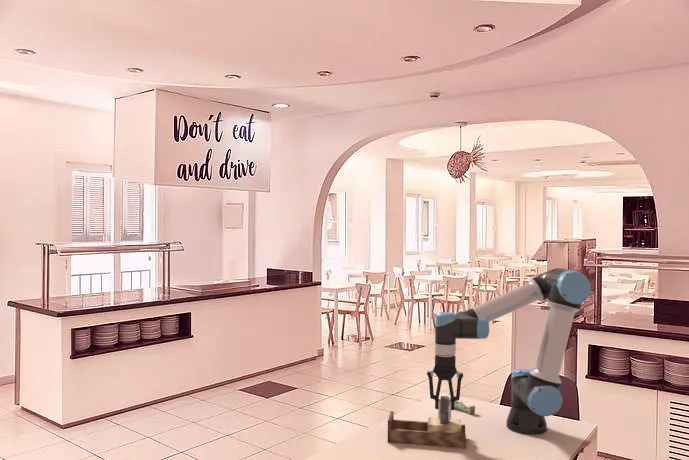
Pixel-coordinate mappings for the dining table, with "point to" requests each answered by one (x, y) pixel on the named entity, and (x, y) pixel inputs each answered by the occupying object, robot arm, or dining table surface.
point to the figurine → (464, 407)
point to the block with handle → (444, 420)
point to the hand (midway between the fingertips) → (444, 418)
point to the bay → (422, 434)
